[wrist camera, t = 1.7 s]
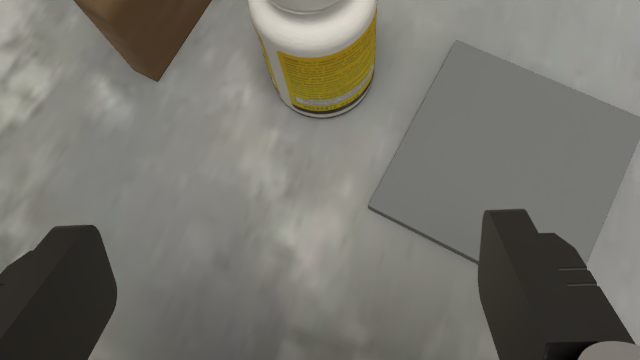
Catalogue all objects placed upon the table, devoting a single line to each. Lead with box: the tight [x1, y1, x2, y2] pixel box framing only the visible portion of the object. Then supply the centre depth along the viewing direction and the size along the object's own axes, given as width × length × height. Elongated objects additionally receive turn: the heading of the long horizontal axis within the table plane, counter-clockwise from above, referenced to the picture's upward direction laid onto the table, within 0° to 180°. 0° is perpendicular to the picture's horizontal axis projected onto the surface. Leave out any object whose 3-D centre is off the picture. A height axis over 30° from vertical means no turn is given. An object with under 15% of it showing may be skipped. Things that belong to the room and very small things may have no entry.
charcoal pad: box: [368, 40, 640, 264], centre depth 26 cm, size 10×10×1 cm
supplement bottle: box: [248, 0, 377, 117], centre depth 24 cm, size 5×5×10 cm
